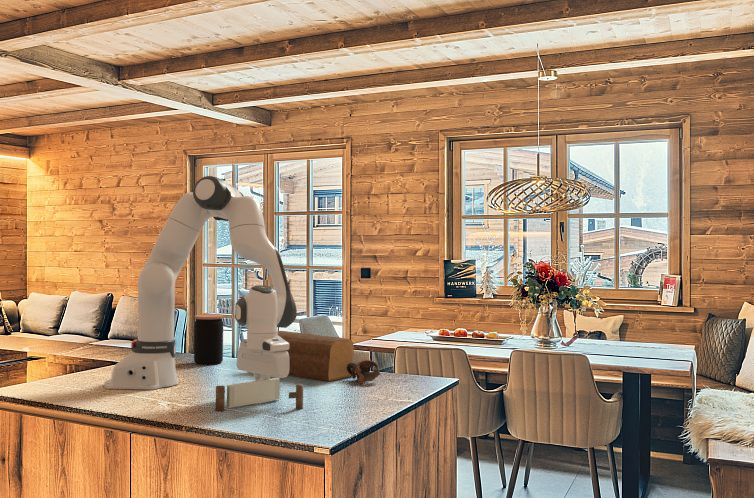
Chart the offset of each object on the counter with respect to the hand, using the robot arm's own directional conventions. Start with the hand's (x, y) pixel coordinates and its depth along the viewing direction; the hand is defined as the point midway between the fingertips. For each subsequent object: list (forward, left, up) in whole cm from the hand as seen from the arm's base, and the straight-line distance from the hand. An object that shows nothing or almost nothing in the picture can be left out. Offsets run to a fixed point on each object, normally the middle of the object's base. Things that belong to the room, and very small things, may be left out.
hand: (261, 389), depth 204 cm
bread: (+15, +42, -4) cm, 45 cm away
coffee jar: (-19, +66, -3) cm, 69 cm away
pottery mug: (+34, +25, -4) cm, 42 cm away
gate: (-2, -5, -3) cm, 6 cm away
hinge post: (-11, -11, -3) cm, 16 cm away
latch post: (+9, -12, -3) cm, 15 cm away
